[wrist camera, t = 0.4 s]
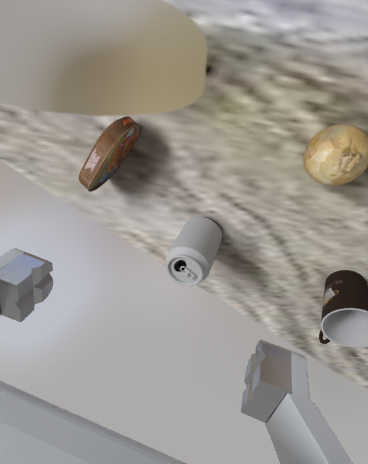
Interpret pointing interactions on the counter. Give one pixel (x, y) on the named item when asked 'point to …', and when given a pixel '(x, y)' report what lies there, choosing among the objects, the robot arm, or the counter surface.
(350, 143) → the onion
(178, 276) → the can
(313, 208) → the counter surface
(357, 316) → the coffee mug
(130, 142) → the tin
